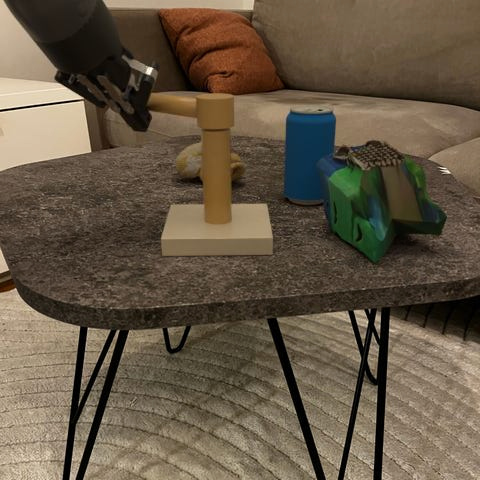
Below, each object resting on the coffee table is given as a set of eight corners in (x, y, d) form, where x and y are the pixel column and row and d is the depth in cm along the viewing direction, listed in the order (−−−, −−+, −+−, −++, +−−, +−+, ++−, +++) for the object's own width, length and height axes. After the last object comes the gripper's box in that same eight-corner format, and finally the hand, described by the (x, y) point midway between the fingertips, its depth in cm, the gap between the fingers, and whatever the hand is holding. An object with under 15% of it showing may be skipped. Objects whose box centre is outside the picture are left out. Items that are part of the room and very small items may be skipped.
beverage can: (338, 197, 82) (345, 107, 77) (316, 209, 78) (322, 114, 72) (298, 190, 86) (301, 102, 80) (274, 201, 81) (276, 109, 75)
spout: (242, 139, 64) (241, 95, 62) (217, 145, 61) (216, 100, 59) (142, 122, 73) (138, 83, 71) (116, 127, 71) (112, 87, 69)
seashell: (219, 128, 96) (252, 141, 83) (226, 165, 99) (258, 182, 86) (161, 142, 94) (185, 157, 81) (169, 179, 97) (194, 200, 84)
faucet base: (162, 256, 64) (153, 140, 58) (171, 219, 74) (165, 119, 69) (272, 255, 64) (275, 139, 58) (266, 218, 74) (268, 118, 69)
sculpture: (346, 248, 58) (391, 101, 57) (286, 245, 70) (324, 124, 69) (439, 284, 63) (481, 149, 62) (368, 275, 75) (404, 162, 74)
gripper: (133, -27, 53) (202, 102, 68) (19, -23, 58) (108, 96, 73) (103, 41, 51) (181, 157, 66) (-12, 39, 56) (86, 148, 71)
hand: (143, 125), depth 70 cm, fingers closed
